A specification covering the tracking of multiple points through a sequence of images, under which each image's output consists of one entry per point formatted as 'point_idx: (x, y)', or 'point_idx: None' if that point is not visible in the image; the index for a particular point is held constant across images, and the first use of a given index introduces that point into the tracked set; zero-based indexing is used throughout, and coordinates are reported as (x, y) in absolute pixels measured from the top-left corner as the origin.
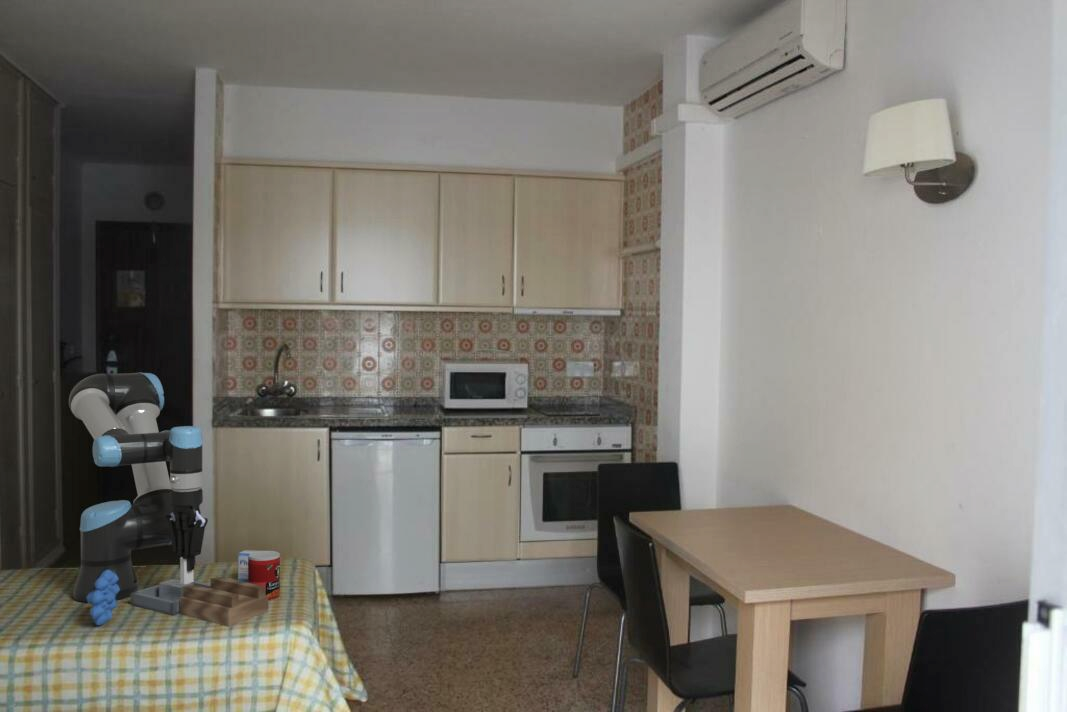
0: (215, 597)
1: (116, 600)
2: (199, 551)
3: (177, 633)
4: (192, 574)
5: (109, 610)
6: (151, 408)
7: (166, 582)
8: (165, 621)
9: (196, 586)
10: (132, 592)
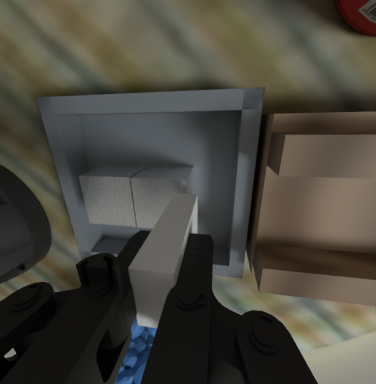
0: None
1: (134, 325)
2: (299, 375)
3: (337, 318)
4: (193, 212)
5: (154, 331)
6: None
7: (101, 210)
8: (253, 282)
9: (311, 279)
10: (81, 256)
